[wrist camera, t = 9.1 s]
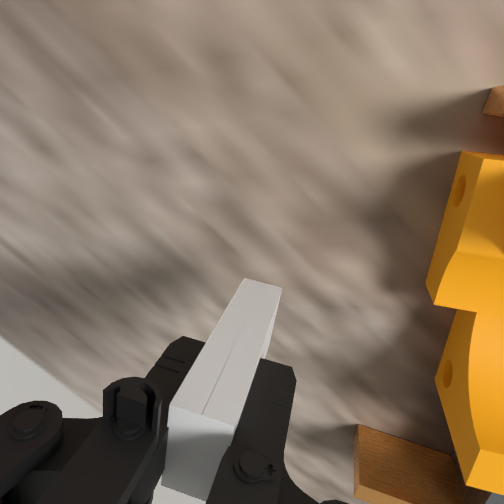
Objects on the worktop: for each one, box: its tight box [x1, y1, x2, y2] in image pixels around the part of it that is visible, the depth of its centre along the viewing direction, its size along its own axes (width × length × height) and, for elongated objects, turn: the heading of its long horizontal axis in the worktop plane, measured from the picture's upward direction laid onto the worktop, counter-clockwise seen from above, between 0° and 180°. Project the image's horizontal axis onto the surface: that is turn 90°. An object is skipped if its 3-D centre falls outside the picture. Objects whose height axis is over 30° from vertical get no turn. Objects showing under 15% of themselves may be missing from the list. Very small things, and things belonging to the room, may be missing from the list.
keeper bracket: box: [354, 86, 504, 504], centre depth 16 cm, size 7×20×4 cm, turn 170°
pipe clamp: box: [425, 151, 504, 495], centre depth 15 cm, size 12×4×6 cm, turn 176°
